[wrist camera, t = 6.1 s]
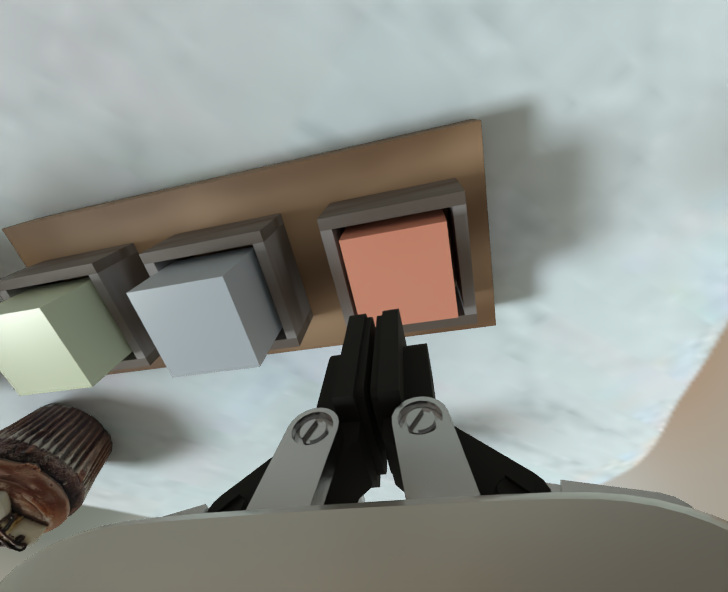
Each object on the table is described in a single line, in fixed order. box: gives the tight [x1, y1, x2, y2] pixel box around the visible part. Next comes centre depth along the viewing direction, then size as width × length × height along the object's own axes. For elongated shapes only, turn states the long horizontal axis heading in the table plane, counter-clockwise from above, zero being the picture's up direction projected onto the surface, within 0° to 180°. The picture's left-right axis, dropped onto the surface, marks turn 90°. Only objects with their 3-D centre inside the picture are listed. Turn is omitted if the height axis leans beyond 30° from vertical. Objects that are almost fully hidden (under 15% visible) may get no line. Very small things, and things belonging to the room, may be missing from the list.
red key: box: [339, 209, 458, 327], centre depth 20 cm, size 5×5×4 cm
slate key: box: [126, 247, 282, 377], centre depth 20 cm, size 5×5×4 cm
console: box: [0, 119, 496, 375], centre depth 23 cm, size 12×30×6 cm, turn 102°
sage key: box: [0, 277, 132, 396], centre depth 22 cm, size 5×5×4 cm
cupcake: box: [0, 404, 112, 552], centre depth 32 cm, size 10×10×10 cm
